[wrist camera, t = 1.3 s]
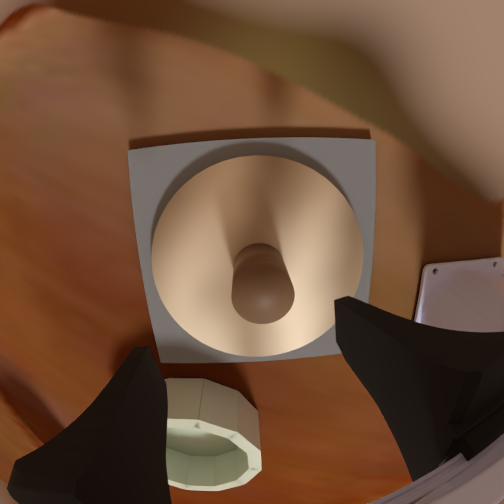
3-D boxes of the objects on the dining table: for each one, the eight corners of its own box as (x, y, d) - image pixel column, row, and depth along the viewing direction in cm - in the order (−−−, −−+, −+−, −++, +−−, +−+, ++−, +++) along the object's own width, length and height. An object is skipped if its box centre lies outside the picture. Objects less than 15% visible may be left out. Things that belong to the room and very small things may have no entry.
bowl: (256, 376, 23) (258, 418, 18) (260, 454, 26) (262, 490, 22) (122, 375, 22) (105, 412, 18) (153, 452, 26) (145, 485, 21)
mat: (371, 140, 18) (375, 139, 17) (358, 346, 22) (361, 350, 22) (130, 150, 17) (127, 150, 17) (162, 358, 22) (160, 362, 21)
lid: (360, 154, 17) (397, 155, 13) (351, 341, 21) (372, 383, 17) (144, 164, 17) (112, 169, 13) (171, 352, 21) (157, 396, 16)
